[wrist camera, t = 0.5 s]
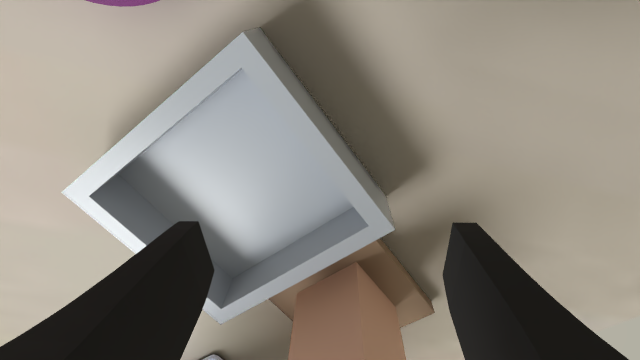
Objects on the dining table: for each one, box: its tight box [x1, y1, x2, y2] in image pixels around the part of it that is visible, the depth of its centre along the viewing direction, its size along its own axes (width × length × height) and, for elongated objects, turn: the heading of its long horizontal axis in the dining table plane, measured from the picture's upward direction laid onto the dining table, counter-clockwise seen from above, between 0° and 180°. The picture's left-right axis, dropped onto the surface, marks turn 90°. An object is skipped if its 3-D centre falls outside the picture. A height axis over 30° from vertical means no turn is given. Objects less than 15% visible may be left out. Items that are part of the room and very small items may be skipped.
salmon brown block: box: [288, 262, 406, 360], centre depth 20 cm, size 5×5×8 cm
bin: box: [62, 27, 395, 324], centre depth 19 cm, size 13×12×4 cm
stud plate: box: [269, 238, 435, 328], centre depth 23 cm, size 9×9×4 cm
